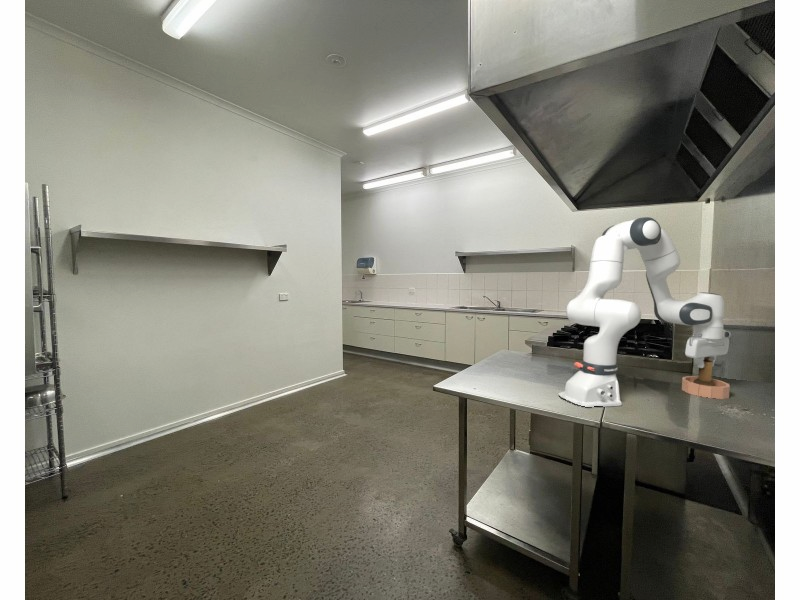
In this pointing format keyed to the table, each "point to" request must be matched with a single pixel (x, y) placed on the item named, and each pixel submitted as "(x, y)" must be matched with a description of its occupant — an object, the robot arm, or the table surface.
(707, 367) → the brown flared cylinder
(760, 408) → the table surface
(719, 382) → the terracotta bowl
